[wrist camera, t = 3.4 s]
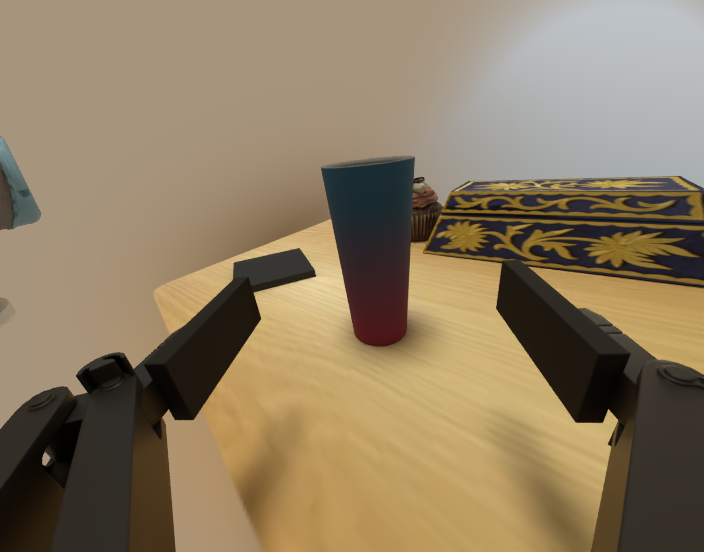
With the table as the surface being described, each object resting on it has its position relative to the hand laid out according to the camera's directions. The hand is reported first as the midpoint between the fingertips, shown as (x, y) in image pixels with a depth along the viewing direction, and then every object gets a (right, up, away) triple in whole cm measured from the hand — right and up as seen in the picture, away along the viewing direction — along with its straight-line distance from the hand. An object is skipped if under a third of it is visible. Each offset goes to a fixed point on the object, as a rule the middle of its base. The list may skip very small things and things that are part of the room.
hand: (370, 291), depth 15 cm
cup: (+2, -4, +12) cm, 13 cm away
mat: (-13, +1, +28) cm, 31 cm away
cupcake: (+11, +8, +37) cm, 39 cm away
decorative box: (+25, +4, +24) cm, 35 cm away
